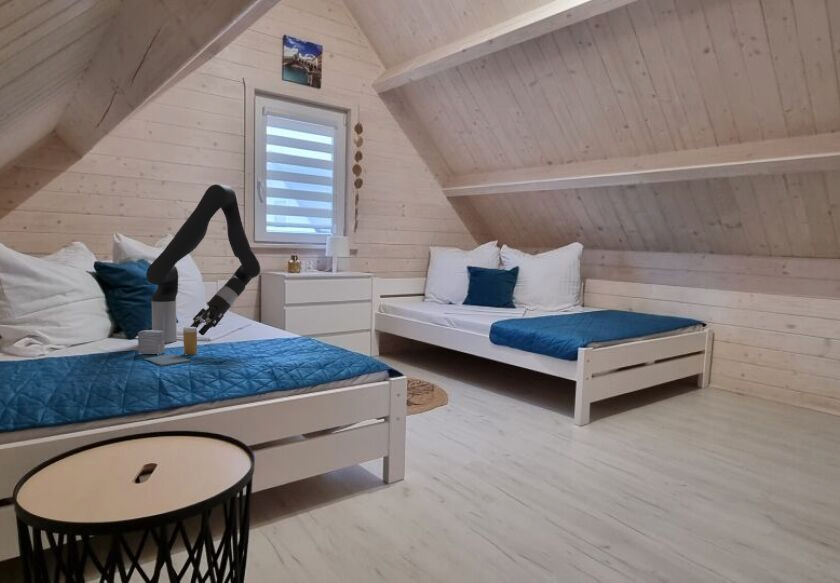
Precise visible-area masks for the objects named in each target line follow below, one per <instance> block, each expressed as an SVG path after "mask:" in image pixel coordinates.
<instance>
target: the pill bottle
mask: <svg viewBox="0 0 840 583" xmlns="http://www.w3.org/2000/svg"><path fill="white" fill-rule="evenodd" d="M182 330H183V355H184V354H196V353H197V354H198V327H190V326H186V327H183V328H182ZM197 354H196V355H197Z"/></svg>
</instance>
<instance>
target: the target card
mask: <svg viewBox="0 0 840 583" xmlns="http://www.w3.org/2000/svg"><path fill="white" fill-rule="evenodd" d="M145 359H146V360H149V361H151V362H153V363H152V364H154V363H156V364H155V365H157V364H158V365H157V366H159V365H160V367H167V366H172V365H173V364H174V365H178V364H179V363H180V364H185V362H187V363H191V362H192V360H191V359H189V358H186V357H183V356H181V355H180V356H179V355H177V354H174V353H173V354H172V353H171V354H165V355H156V356H152V357H145V358H144V360H145ZM146 360H145V361H146ZM149 361H148V362H149ZM151 362H150V363H151ZM180 364H179V365H180Z"/></svg>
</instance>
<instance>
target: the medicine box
mask: <svg viewBox="0 0 840 583" xmlns="http://www.w3.org/2000/svg"><path fill="white" fill-rule="evenodd" d="M137 341H138V342H137V344H138V347H137V348H138V349H137V350H138V354H139V353H142V354H157V355H156V356H160V355H163V354H165V352H166V349H165V344H166V343H164V331H159V330H152V329H145V330H140V331H138V332H137ZM162 353H163V354H162ZM159 354H160V355H159Z"/></svg>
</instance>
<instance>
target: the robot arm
mask: <svg viewBox="0 0 840 583" xmlns="http://www.w3.org/2000/svg"><path fill="white" fill-rule="evenodd" d="M220 209H221V211H222V212H223V215H224V217H225V220H226V226H227V227H226V229H227V239H228V242H229V245H230V248H231V250H232V253H233V255H234V257H235V258H237V259H239V262H240V264H241V265H239V267H238V268H237V269H236V271H235V272H234V273H233V275H232V276H231V277H230V278H229V279H228V281H226V283H225V284H224V285H223V286H222V287H220V289H218V290H217V292H216V293H215V294H214V295H213V296H212V297H211V298H210V300H209V301H208V302H207V306H208V308H206V309H205V308H204V307H203V308H202V309H200V311H199V312H198V313H197V314H196V315H195V316H194V317H193V318H192V321H193V322H192V323H191V325H190V326H189V327H197V328H199V327H200V325H202V324H203V326H202V327H201V328H200V329H199V330H198V334H199V335H201V336H204V335H205V334H206V333H207V332H208V331H209V330H210V329H212V328H216V327H217V325H218V324H219V323H220V321H221V320H222V319H223V318H224V317H225V316H224V315H225V314H226V313H227V312H228V311H229V309H230V308H231V307H232V306H233V305H234V303H235V302H237V301H236V300H237V299H238V298H239V297H240V295H241V294H242V293H243V292H244V291H245V289H246V286H247V285H248V284H249V283H250V282H251V280H253V279H254V278H256V277H258V276H259V275H260V273H261V265H260V263H259V262H260V261H259V260H258V258H257V256H256V254H255V253H254V252H253V250H252V248H251V245H250V242H249V240H248V237H247V235H246V232H245V230H244V226H243V223H242V222H243V221H242V218H241V214H240V209H239V204H238V200H237V195H236V192H235V191H234V189H233V188H232V187H231V186H229V185H227V184H219V183H218V184H217V183H216V184H212V185H211V186H209V187H207V188H206V190H205V192H204V194H203V196H202V198H201V199H200V200H199V203H198V204H197V206H196V208H194V210H193V211H192V212H191V214H190V215H189V216H188V218H187V219H186V220H185V222H183V224H182V225H181V227H180V228H179V230H178V231H177V232H176V233H175V235H174V236H173V237H172V239H171V241H169V243H168V244H167V245H166V247H165V248H164V250H163V251H162V252H161V253H160V254H159V255H158V256H157V257H156V258H155V259H154V261H152V262H151V263H150V265H149V266H148V268H147V269H146V273H145V275H146V277H145V278H146V280H147V281H148V283H149V284H151V285H153V286H154V285H156V286H157V289H156V291H155V292H153V293H152V294H151V297H150V298H151V330H159V331H164V343H165V344H167V343H168V344H169V343H173V342H177V339H178V335H177V330H178V329H177V295H178V292H179V271H178V268H177V266H176V264H177V263H178V262H179V261H181V260H182V259H183V258H184V257H186V256H188V255H189V254H191V253H192V252H193V251H194V250H195V249H196V248H198V246H199V245H200V244H201V242H202V241H203V239H204V238H205V237H206V235H207V231H208V227H209V224H210V221H211V219H212V218H213V217H214V215H215V214H217V212H218V211H219V210H220Z"/></svg>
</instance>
